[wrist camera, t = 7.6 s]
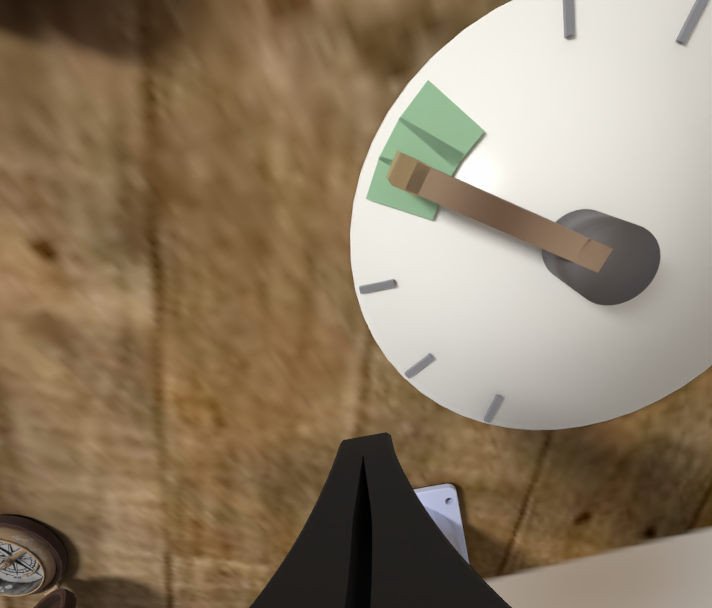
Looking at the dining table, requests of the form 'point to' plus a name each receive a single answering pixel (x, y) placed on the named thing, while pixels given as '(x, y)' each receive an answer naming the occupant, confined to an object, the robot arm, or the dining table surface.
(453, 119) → the gauge dial
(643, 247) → the tuning pointer
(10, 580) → the compass
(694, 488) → the dining table surface
